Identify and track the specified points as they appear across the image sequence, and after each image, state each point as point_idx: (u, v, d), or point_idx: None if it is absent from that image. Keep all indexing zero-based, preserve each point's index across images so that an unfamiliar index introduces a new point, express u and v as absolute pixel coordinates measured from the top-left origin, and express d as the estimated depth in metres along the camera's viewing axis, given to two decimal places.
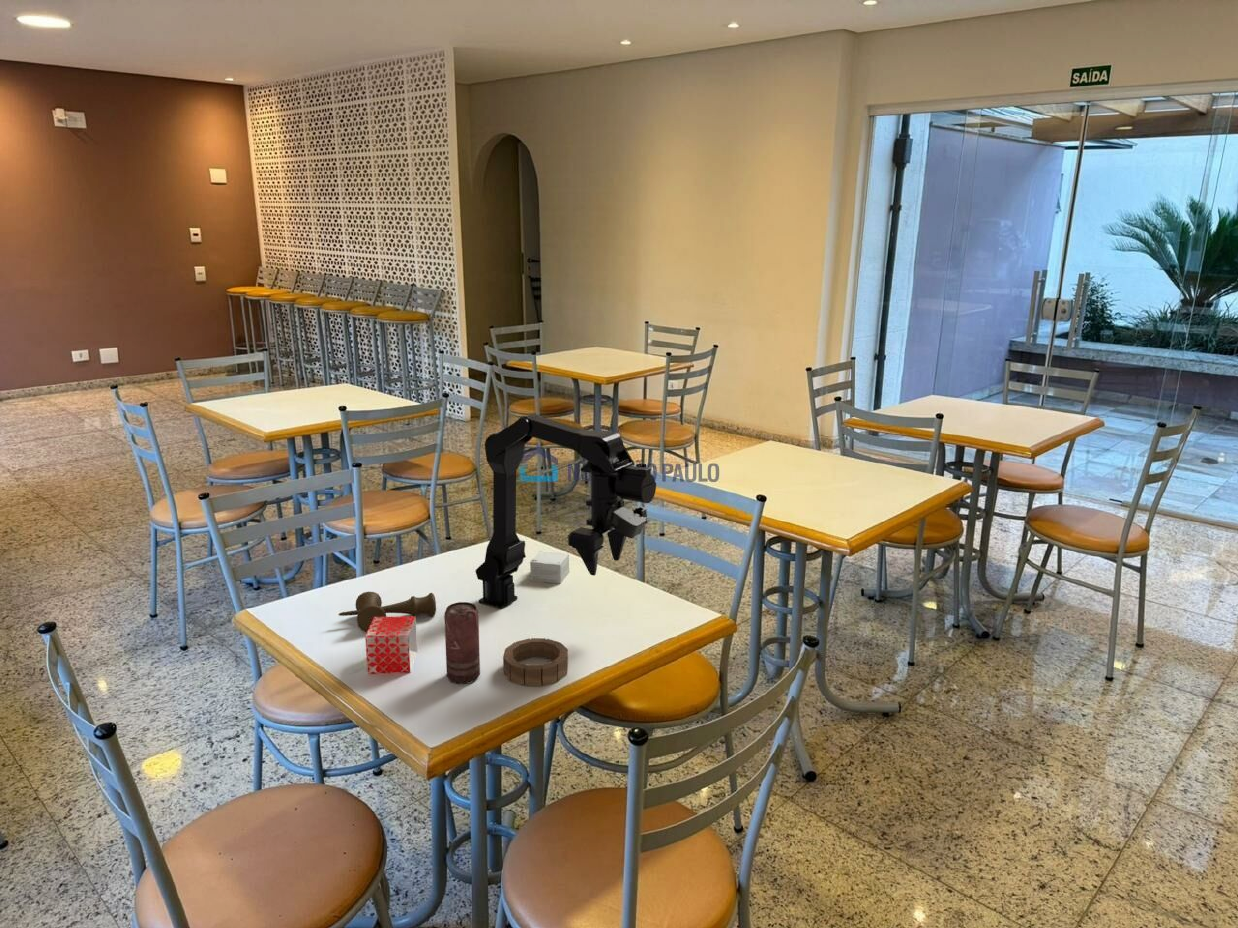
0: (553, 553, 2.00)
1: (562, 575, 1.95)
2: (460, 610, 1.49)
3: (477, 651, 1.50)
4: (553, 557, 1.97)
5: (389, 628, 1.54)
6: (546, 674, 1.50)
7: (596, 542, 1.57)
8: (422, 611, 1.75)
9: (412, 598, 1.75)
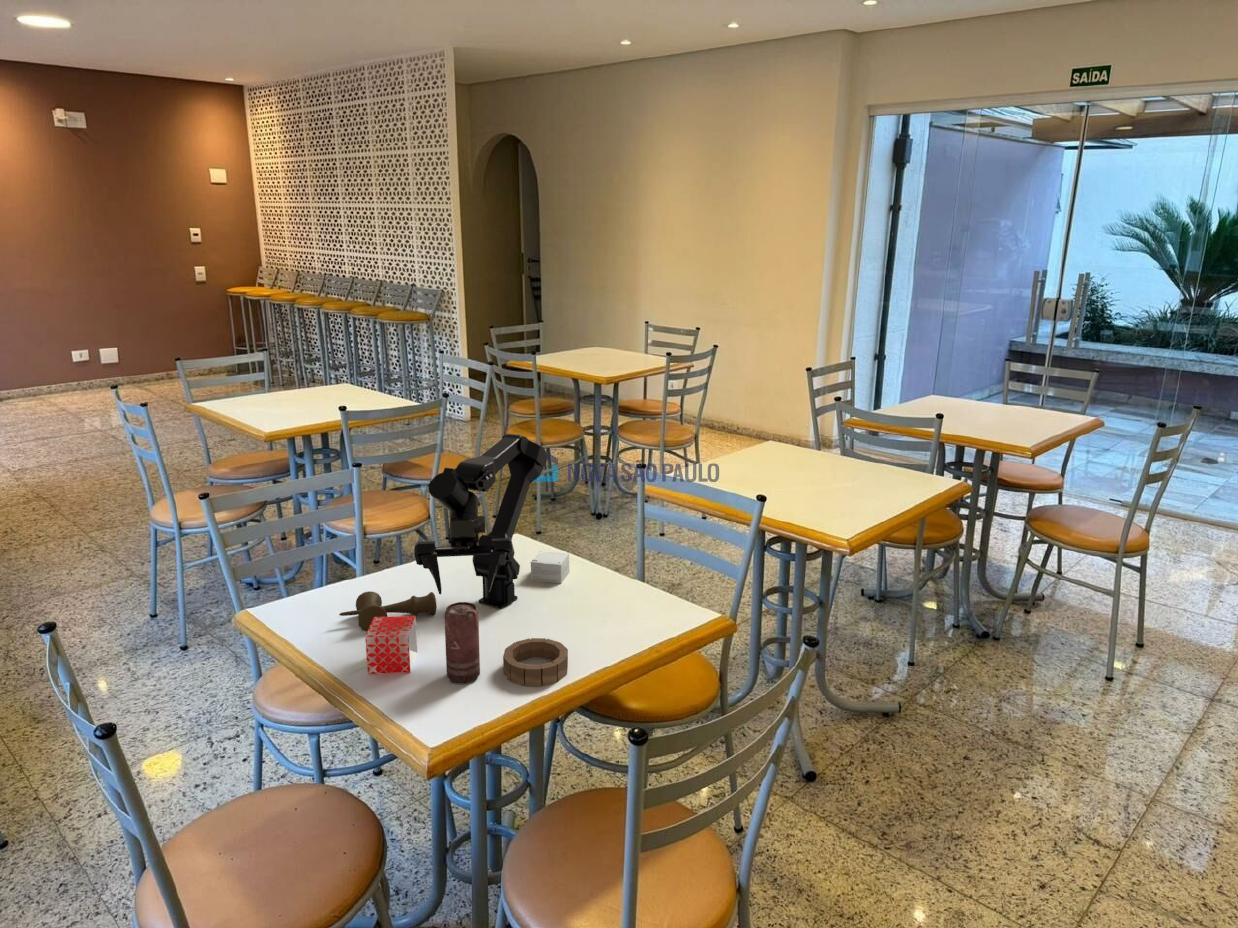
0: (553, 553, 2.00)
1: (562, 575, 1.95)
2: (460, 610, 1.49)
3: (477, 651, 1.50)
4: (554, 557, 1.97)
5: (389, 628, 1.54)
6: (546, 674, 1.50)
7: (420, 546, 1.57)
8: (422, 610, 1.75)
9: (412, 597, 1.75)
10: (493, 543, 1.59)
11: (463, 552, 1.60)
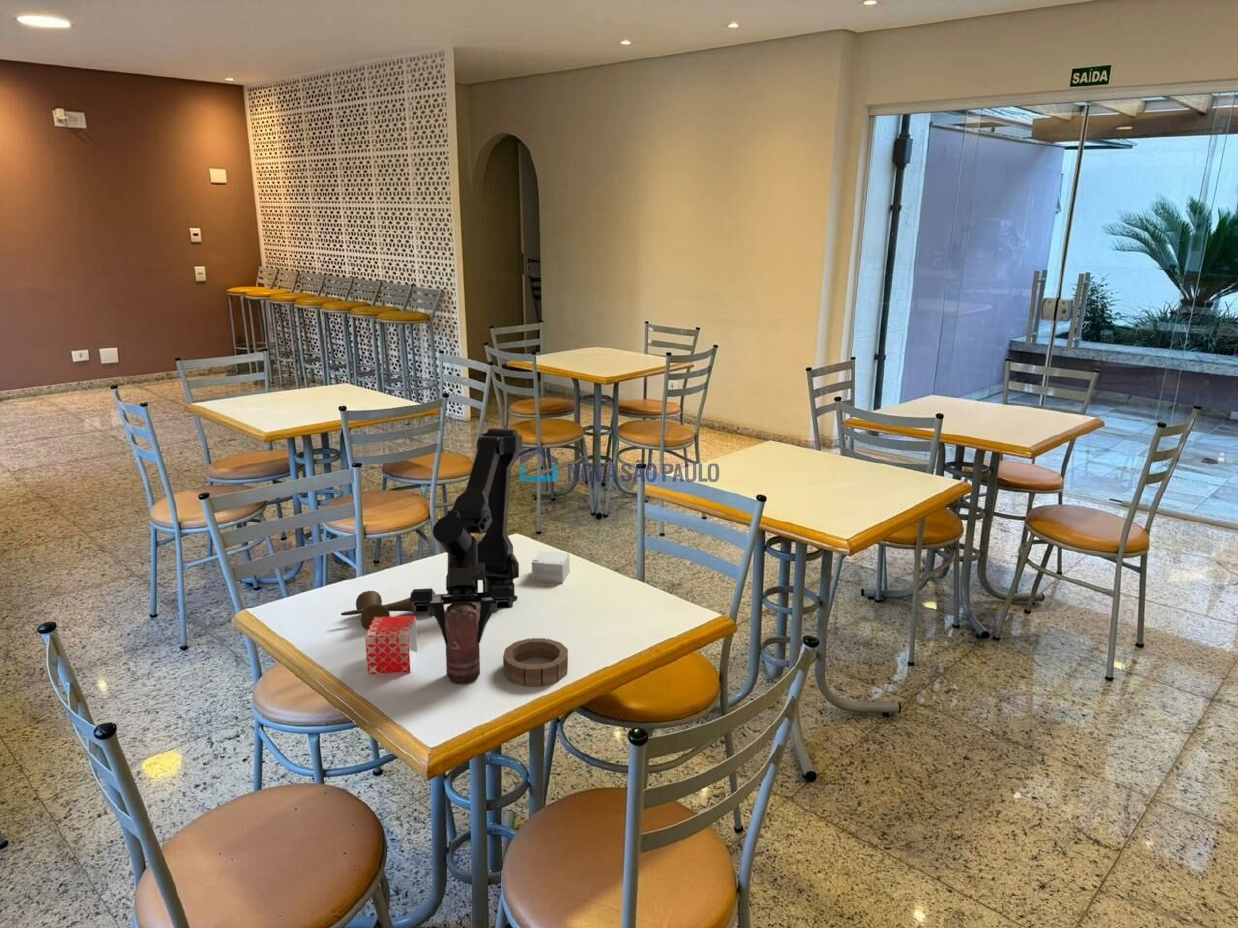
0: (553, 553, 2.00)
1: (563, 575, 1.95)
2: (460, 610, 1.49)
3: (477, 651, 1.50)
4: (555, 557, 1.97)
5: (389, 628, 1.54)
6: (546, 674, 1.50)
7: (416, 594, 1.50)
8: None
9: None
10: (493, 591, 1.52)
11: (452, 600, 1.53)
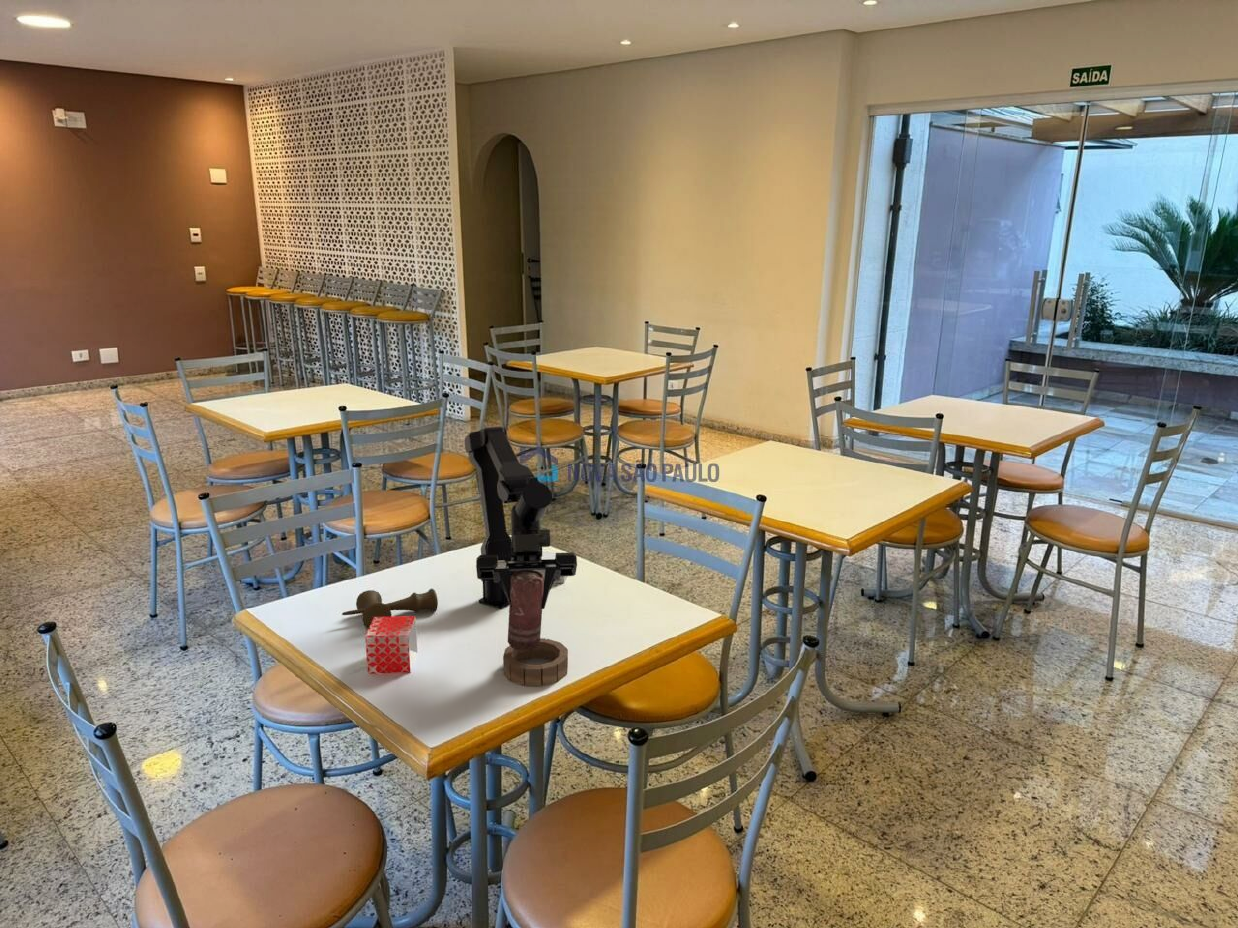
0: (554, 553, 2.00)
1: None
2: (526, 577, 1.50)
3: (540, 619, 1.51)
4: None
5: (389, 628, 1.54)
6: (546, 674, 1.50)
7: (482, 560, 1.51)
8: (424, 607, 1.77)
9: (414, 594, 1.77)
10: (557, 558, 1.53)
11: (516, 567, 1.54)
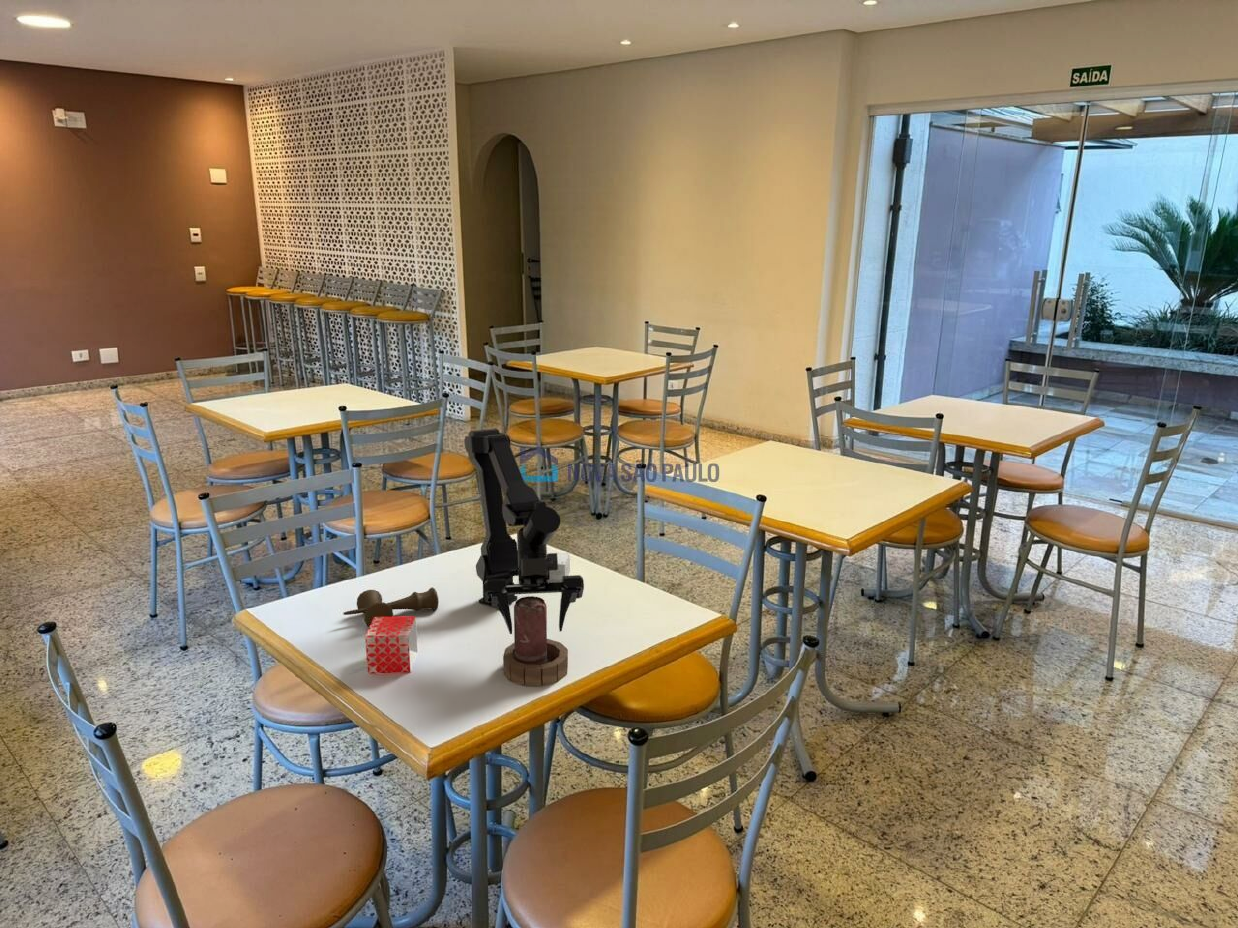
0: None
1: (565, 574, 1.96)
2: (529, 604, 1.52)
3: (545, 644, 1.53)
4: None
5: (389, 628, 1.54)
6: (546, 674, 1.50)
7: (490, 584, 1.52)
8: (425, 605, 1.77)
9: (414, 594, 1.77)
10: (564, 581, 1.54)
11: (533, 590, 1.55)
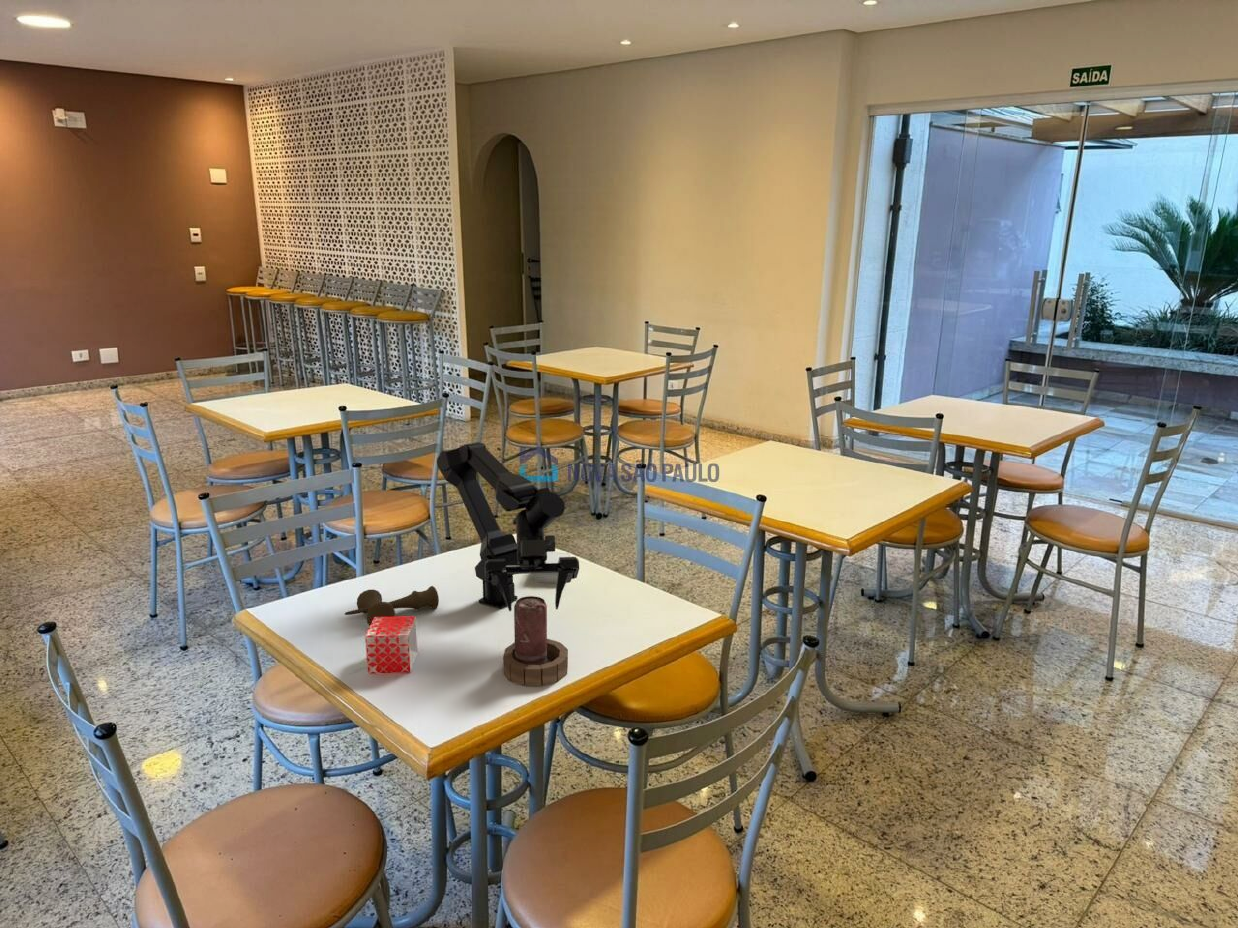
0: (554, 553, 2.00)
1: None
2: (529, 604, 1.52)
3: (545, 644, 1.53)
4: (556, 557, 1.98)
5: (389, 628, 1.54)
6: (546, 674, 1.50)
7: (491, 564, 1.61)
8: (425, 604, 1.78)
9: (415, 592, 1.78)
10: (561, 562, 1.64)
11: (531, 570, 1.65)
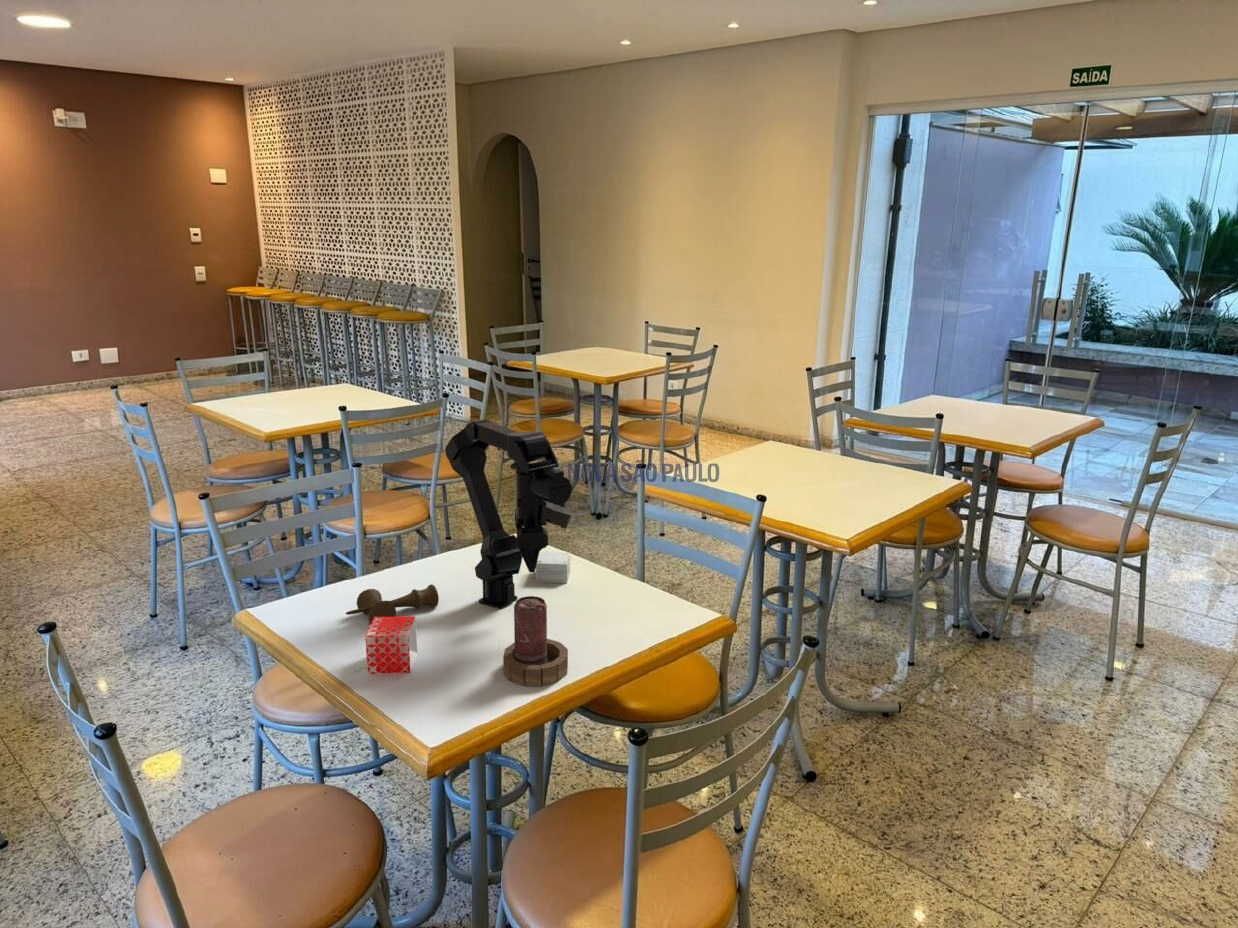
0: (554, 553, 2.00)
1: (567, 574, 1.96)
2: (529, 604, 1.52)
3: (545, 644, 1.53)
4: (557, 557, 1.98)
5: (389, 628, 1.54)
6: (546, 674, 1.50)
7: (547, 538, 1.63)
8: (425, 602, 1.79)
9: (415, 591, 1.79)
10: None
11: None
